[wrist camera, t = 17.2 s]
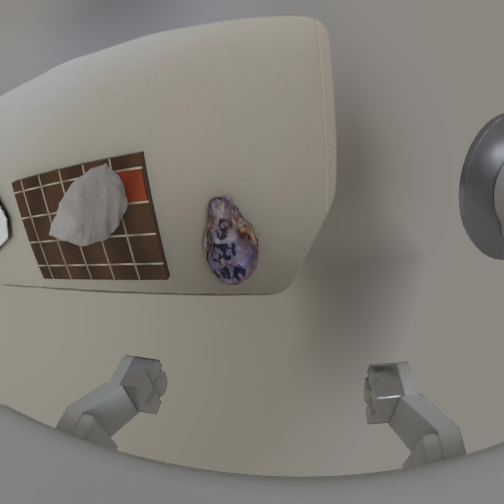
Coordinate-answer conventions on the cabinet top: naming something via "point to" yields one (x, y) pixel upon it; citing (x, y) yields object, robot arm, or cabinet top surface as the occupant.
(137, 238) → the board
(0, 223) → the plate
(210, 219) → the skull
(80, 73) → the cabinet top surface
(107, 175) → the stone tool
